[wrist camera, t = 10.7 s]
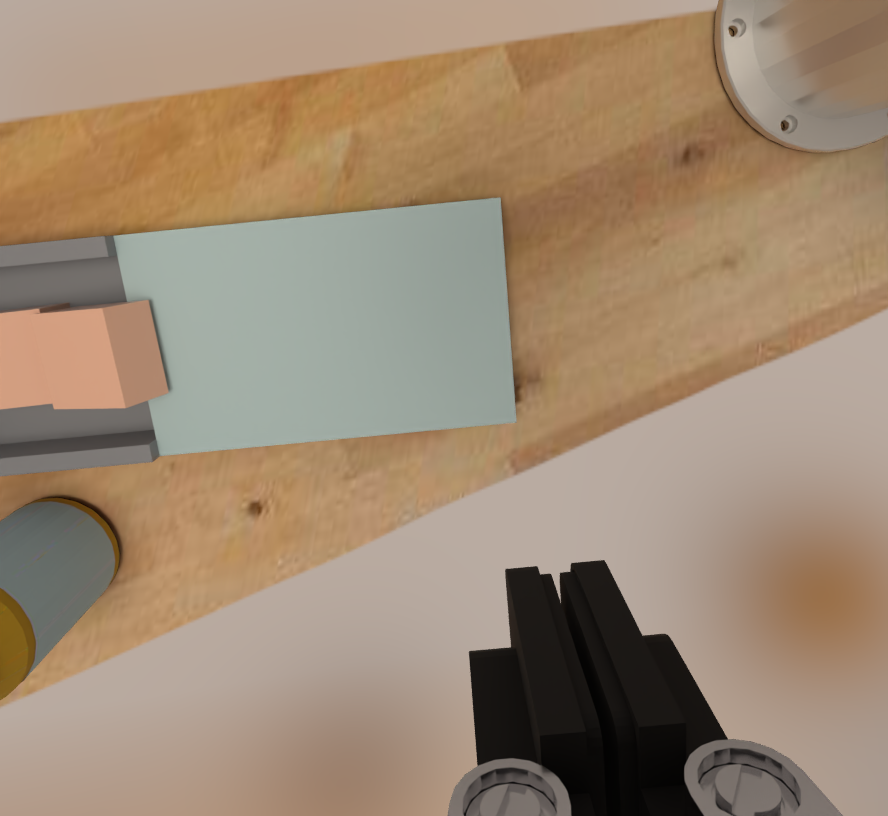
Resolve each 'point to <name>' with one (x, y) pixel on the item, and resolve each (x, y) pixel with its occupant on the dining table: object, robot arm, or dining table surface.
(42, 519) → the bottle
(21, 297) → the tray
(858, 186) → the dining table surface
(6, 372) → the tile
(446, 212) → the pale green lid panel
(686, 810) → the robot arm
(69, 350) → the tile
